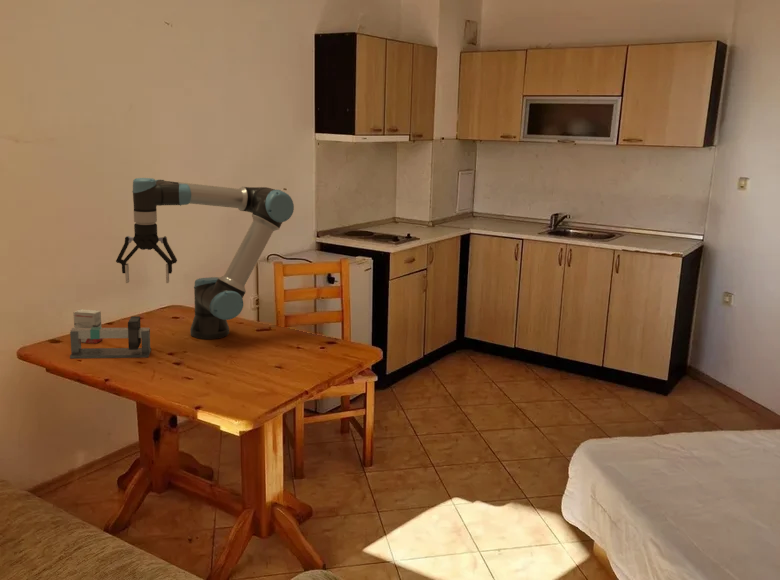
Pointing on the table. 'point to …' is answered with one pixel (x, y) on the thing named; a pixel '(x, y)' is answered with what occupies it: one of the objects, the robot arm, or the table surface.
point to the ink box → (87, 322)
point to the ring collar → (134, 333)
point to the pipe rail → (99, 333)
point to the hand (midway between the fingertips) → (147, 282)
